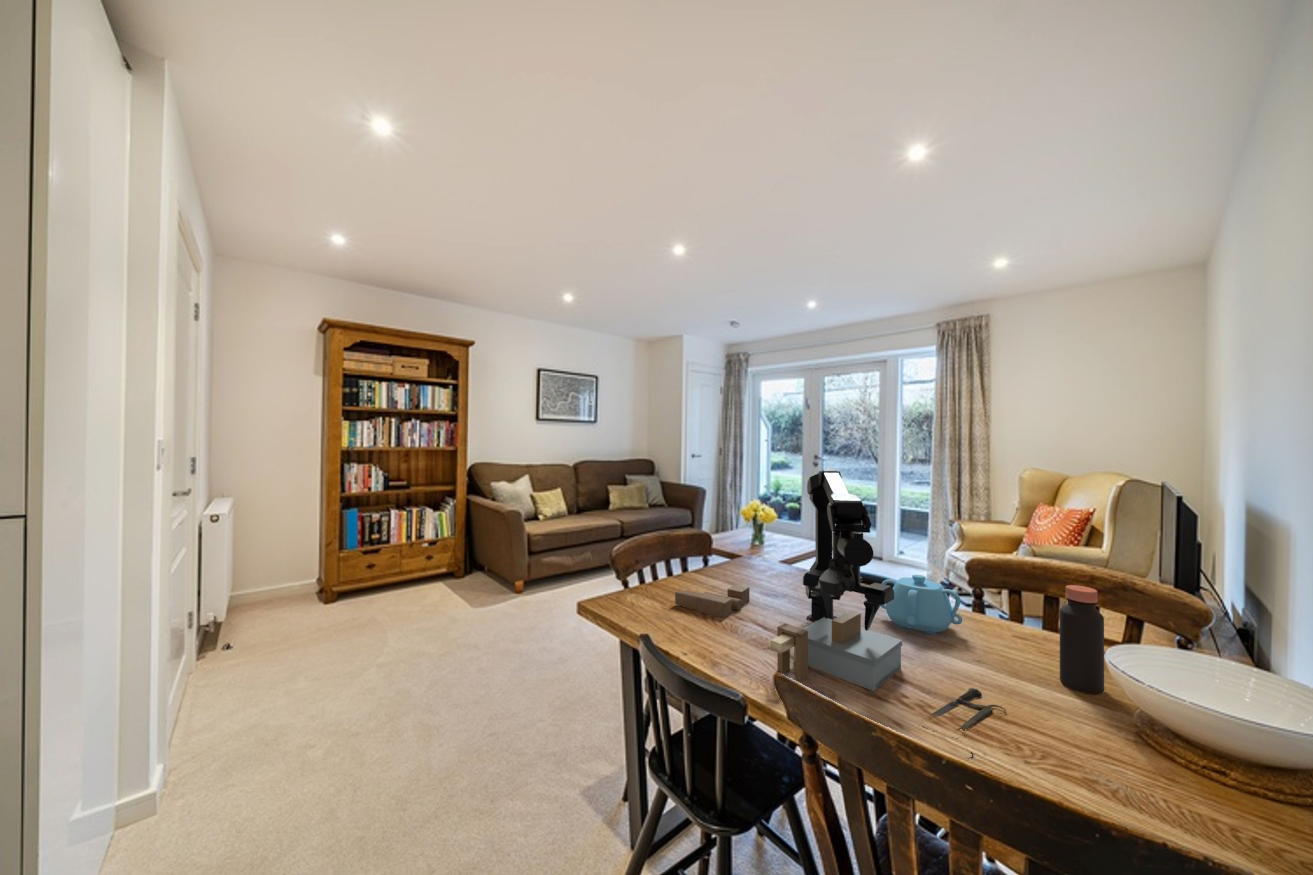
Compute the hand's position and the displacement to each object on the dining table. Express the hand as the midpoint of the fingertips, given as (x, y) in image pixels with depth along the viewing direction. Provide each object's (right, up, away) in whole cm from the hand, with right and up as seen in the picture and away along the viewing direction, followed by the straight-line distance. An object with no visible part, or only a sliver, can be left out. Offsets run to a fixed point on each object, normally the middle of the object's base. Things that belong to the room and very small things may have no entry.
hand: (846, 623), depth 107 cm
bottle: (+44, -9, -10) cm, 46 cm away
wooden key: (-14, -2, -5) cm, 15 cm away
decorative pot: (+28, -9, +22) cm, 37 cm away
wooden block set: (-25, -10, +39) cm, 47 cm away
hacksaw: (+13, -10, -22) cm, 27 cm away
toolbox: (-3, -9, -2) cm, 10 cm away
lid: (0, -4, 0) cm, 4 cm away
